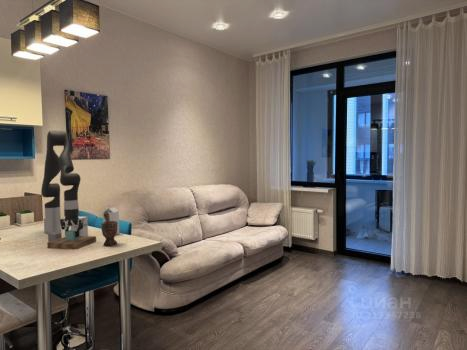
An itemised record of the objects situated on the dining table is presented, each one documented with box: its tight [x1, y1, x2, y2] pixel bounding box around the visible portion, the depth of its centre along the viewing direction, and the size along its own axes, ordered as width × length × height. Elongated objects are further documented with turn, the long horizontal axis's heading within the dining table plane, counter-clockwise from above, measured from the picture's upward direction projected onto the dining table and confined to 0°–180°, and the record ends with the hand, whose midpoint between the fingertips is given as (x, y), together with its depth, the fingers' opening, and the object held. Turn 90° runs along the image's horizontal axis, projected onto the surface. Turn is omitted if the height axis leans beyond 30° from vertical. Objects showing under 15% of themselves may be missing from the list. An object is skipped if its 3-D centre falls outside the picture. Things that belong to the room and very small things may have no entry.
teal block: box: [64, 229, 79, 241], centre depth 190 cm, size 5×5×5 cm
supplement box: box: [70, 215, 89, 236], centre depth 210 cm, size 7×7×13 cm
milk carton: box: [102, 204, 120, 236], centre depth 215 cm, size 7×7×19 cm
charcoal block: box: [47, 232, 63, 243], centre depth 199 cm, size 5×5×5 cm
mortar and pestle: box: [100, 211, 118, 247], centre depth 187 cm, size 12×9×20 cm
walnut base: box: [46, 235, 97, 250], centre depth 191 cm, size 18×18×3 cm
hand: (72, 236), depth 190 cm, fingers open, 6 cm apart
